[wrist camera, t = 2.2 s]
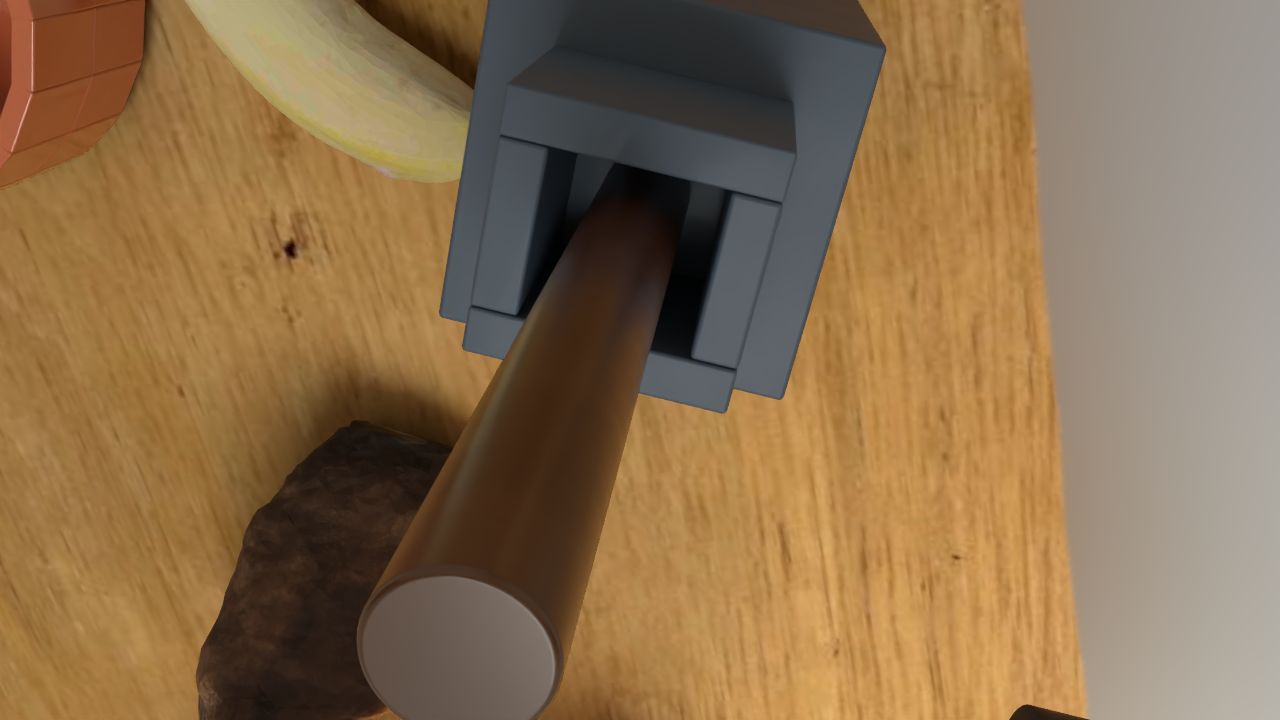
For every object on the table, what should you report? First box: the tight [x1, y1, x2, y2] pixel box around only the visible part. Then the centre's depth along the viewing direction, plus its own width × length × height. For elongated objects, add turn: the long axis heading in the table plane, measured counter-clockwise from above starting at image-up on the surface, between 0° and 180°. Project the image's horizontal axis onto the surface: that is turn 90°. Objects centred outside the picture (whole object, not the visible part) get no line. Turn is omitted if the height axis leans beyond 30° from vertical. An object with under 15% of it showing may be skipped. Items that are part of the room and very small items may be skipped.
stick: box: [357, 163, 691, 720], centre depth 15 cm, size 2×2×14 cm
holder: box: [439, 0, 886, 413], centre depth 25 cm, size 7×7×16 cm
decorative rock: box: [196, 420, 453, 720], centre depth 35 cm, size 12×6×11 cm, turn 154°
